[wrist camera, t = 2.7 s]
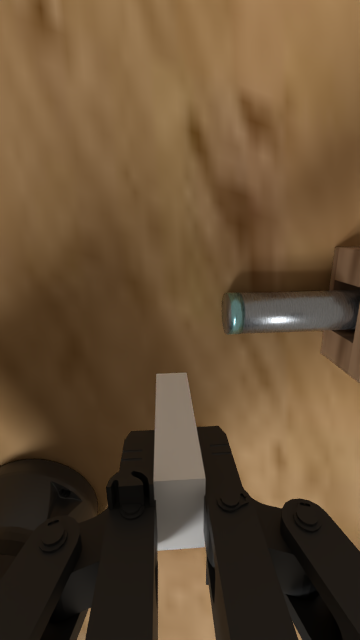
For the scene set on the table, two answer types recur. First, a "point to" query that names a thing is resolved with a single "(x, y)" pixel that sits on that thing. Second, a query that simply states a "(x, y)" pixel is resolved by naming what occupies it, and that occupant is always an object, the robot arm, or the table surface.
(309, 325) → the axle
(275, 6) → the table surface
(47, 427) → the table surface
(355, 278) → the brown slotted wooden block
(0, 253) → the table surface
